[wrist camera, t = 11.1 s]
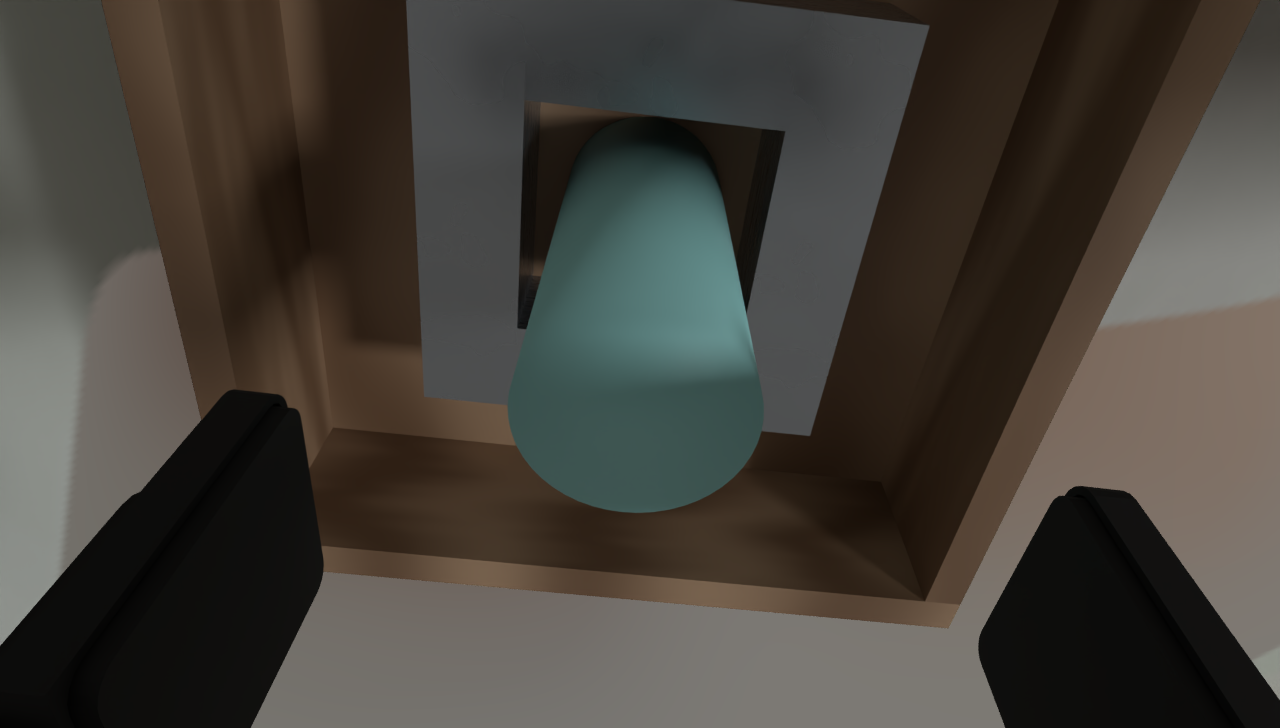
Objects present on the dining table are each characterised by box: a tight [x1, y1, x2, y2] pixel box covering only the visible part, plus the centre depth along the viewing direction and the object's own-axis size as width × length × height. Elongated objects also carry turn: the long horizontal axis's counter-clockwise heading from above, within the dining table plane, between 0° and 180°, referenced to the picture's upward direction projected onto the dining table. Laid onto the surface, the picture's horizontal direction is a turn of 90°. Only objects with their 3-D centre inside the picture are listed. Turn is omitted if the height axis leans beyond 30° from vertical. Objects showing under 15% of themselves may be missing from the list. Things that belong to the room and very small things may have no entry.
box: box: [101, 0, 1260, 628], centre depth 19 cm, size 20×20×6 cm
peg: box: [508, 116, 764, 513], centre depth 16 cm, size 4×4×10 cm
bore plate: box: [406, 0, 930, 436], centre depth 19 cm, size 10×10×3 cm
